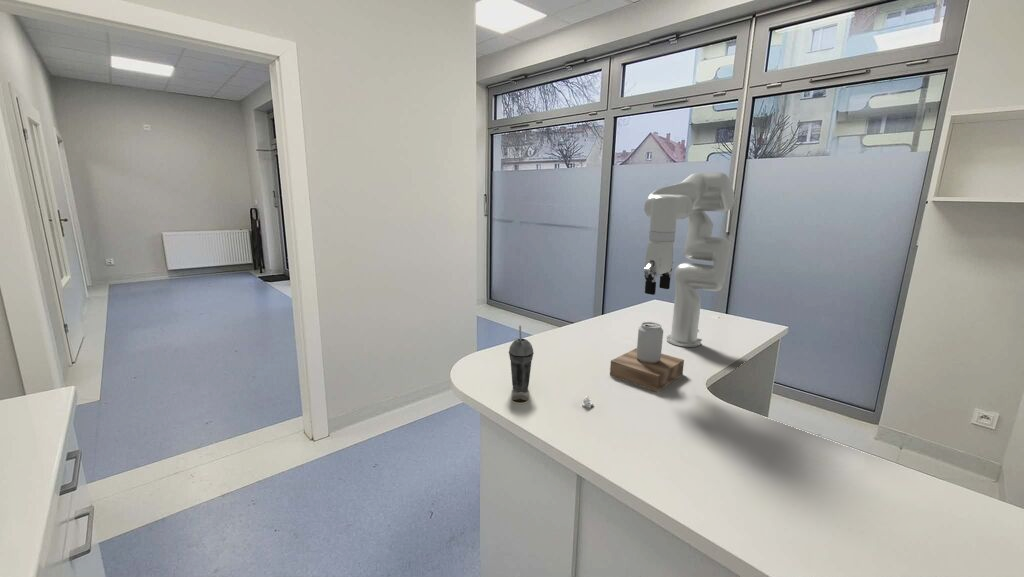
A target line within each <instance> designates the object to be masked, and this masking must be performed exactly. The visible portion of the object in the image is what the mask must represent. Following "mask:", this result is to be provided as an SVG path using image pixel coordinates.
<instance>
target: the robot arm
mask: <svg viewBox="0 0 1024 577" xmlns="http://www.w3.org/2000/svg"><path fill="white" fill-rule="evenodd" d="M734 203H735V192H734V189H733V185H732V182H731V180H730V177H728V175H727V174H726V173H724V172H720V171H719V172H694V173H692V174H690V175H688V176H687V177H686V178H685V179H684V180H682V181H681V182H678V183H675V184H670V185H668V186H663V187H660V188H657V189H655V190H654V191H652V192H651V193H650V194H648V196H647V197H646V200H645V201H644V205H643V206H644V208H643V209H644V212H645V215H646V216H647V217H648V218H649V231H648V244H647V247H646V251H645V252H646V253H645V258H644V266H643V267H644V268H643V272H644V273H643V274H644V281H645V282H644V283H645V284H644V285H645V286H644V293H645V294H647V295H652V296H654V295H656V288H657V282H656V279H657V278H658V276H659V289H663V290H669V289H670V286H671V285H670V284H671V276H672V271H673V265H674V261H673V260H674V243H675V240H676V228H677V220H683V219H687V218H688V229H687V235H686V238H685V244H684V251H683V253H684V254H683V255H684V257H685V258H686V259H688V260H690V261H697V262H708V263H712V264H704V263H696V262H681V263H679V264H678V265H677V266H676V267H675V269H674V282H675V283H674V285H675V286H674V287H675V289H674V290H675V292H674V301H673V302H674V303H673V314H672V324H671V331H670V332H671V333H670V334H668V335H667V336H666V341H667V342H668V343H670V344H672V345H674V346H678V347H685V348H697V347H699V346H700V345H701V344H702V343H701V342H702V341H701V340H700V339H699V338H698V333H700V330H699V322H700V314H701V306H702V299H701V295H700V294H699V292H698V291H697V290H703V291H710V292H718V291H721V290H722V288H723V287H724V284H725V282H726V275H727V271H728V266H729V260H730V255H731V242H730V241H729V240H728V239H727V238H725V237H723V236H722V237H721V236H712V232H713V227H714V224H713V223H714V222H713V221H712V219H711V218H710V216H709V215H708V214H707V213H706V212H719V213H723V212H729V211H730V210H732V208H733V207H734V205H735V204H734Z"/></svg>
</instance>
